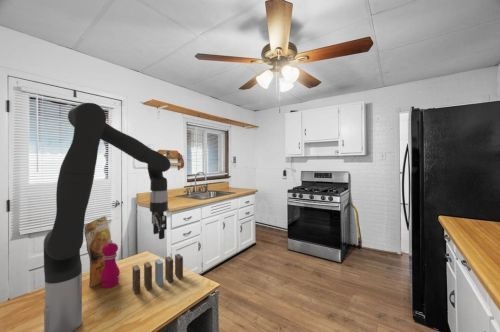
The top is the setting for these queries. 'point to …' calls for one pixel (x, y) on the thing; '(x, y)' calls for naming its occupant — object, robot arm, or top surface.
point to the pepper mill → (110, 265)
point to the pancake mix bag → (96, 247)
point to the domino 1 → (136, 279)
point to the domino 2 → (148, 276)
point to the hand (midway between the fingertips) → (158, 236)
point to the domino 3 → (159, 272)
